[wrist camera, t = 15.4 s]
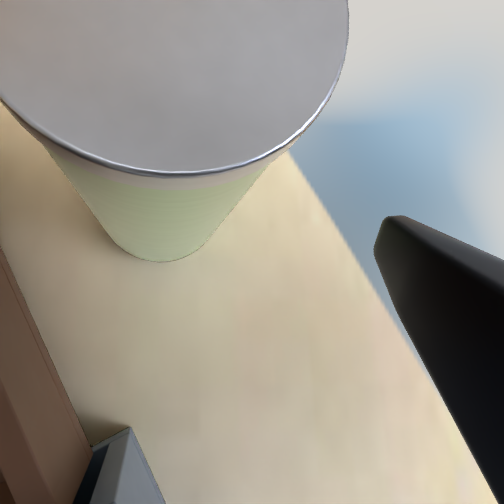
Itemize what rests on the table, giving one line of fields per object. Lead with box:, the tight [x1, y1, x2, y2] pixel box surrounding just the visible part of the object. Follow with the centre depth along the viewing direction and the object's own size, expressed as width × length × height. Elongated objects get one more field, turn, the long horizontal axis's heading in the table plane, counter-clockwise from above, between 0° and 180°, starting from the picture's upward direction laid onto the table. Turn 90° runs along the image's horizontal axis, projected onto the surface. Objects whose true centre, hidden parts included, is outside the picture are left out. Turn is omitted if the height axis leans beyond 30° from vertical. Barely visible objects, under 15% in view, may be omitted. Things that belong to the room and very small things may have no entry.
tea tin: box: [0, 0, 349, 262], centre depth 11 cm, size 5×5×12 cm
